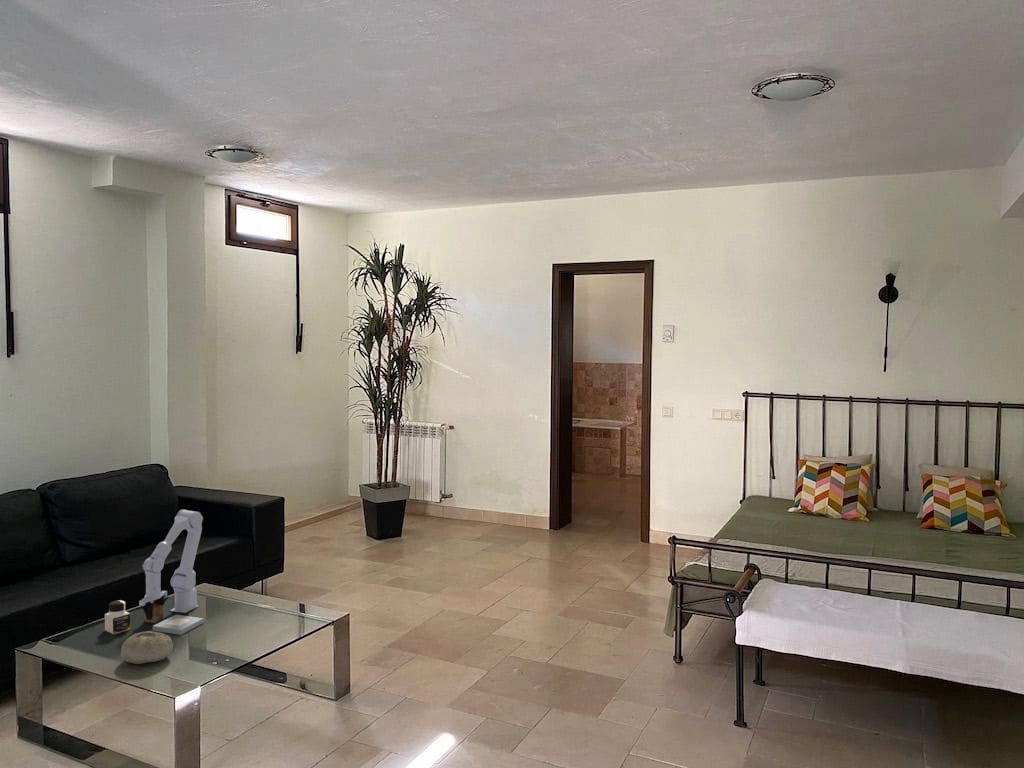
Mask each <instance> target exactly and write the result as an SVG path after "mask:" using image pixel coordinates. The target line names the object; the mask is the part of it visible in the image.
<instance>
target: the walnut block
mask: <svg viewBox="0 0 1024 768" xmlns="http://www.w3.org/2000/svg"><path fill="white" fill-rule="evenodd" d="M153 604H154V603H153ZM163 609H164V605H156V604H154V607H153V611H152V619H151V620H148V619H146V615H145V614H144V622H146V623H151V624H155V623H156V624H157V622H158V623H159V622H161V620H162V621H163V620H164V618H163V617H164V613H163V611H164V610H163Z"/></svg>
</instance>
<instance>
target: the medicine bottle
mask: <svg viewBox="0 0 1024 768" xmlns="http://www.w3.org/2000/svg"><path fill="white" fill-rule="evenodd" d="M130 630H131V613H130V612H128V611H126V601H124V600H121V599H120V600H119V599H118V600H114V601H111V602H110V603H108V612H107V613H104V631H105V632H107V633H110V634H112V635H117V634H121V633H122V632H126V631H130Z"/></svg>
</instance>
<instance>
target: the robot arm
mask: <svg viewBox="0 0 1024 768" xmlns="http://www.w3.org/2000/svg"><path fill="white" fill-rule="evenodd" d="M203 520H204V517H203V515H202V514H201V512H200V511H194V510H188V509H180V510H179V511H178V512H177V514H176V515H175V517H174V523H173V524H172V527H170V530H169V531H168V533H167V535H166V536H165V539H164V540H162V541H160V542H159V543H158V544H157V545H156V547H155V549H154V550H153V552H152V554H151V555H150V556H149V557H148V558H146V559H144V561H143V563H142V569H143V571H144V575H145V595H144V598H142V599H141V600H139V602H138V604H139V606H140V607H141V608H142V610H143V612H144V616H145V615H146V619H148V620H151V619H152V611H153V607H154V604H156V605H163V606H164V605H165V603H166V601H167V597H166V596H168V590H162V589H161V588H162V587H161V580H162V578H161V576H162V575H161V571H162V570H163V569H164V565H165V562H166V559H167V557H168V555H169V554H170V552H171V551H172V549H173V548H172V544H173V543H174V542H175V540H176V539H177V538H178V537H179V535H180V533H182V531H184V530H186V531H187V536H186V539H185V544H184V547H183V551H182V555H181V561H180V564H179V567H178V568H176V569H175V570H174V573H173V575H172V576H171V578H170V586H171V587H172V588H173V590H174V592H173V593H174V607H173V608H172V609H170V612H173V613H174V612H175V613H181V614H183V613H184V614H186V613H188V612H190V611H191V610H194V609H197V608H198V607H199V605H198V591H197V589H196V588H195V586H196V582H197V581H196V575H197V574H196V571H195V570H194V569H193V568H194V566H195V565H194V564H195V560H196V555H197V553H198V552H197V551H198V549H199V547H198V546H199V543H200V539H201V535H202V532H203V531H202V530H203V525H202V524H203ZM152 602H153V603H152Z"/></svg>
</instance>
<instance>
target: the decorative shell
mask: <svg viewBox="0 0 1024 768" xmlns="http://www.w3.org/2000/svg"><path fill="white" fill-rule="evenodd" d="M120 649H121V650H120V656H121V659H122V660H123V661H124V662H126V663H131V664H135V665H136V664H138V665H141V664H147V662H148V663H155V662H160V661H161V660H164V659H166V657H168V656H169V655H170V654H171V653H172V651H173V649H174V643H173V641H172V638H171V637H170V635H167V634H165V632H158V631H153V630H152V631H151V630H148V631H147V630H145V631H141V632H137V633H136V632H135V633H134V634H132V635H129V637H127V638H126V639H125V641H124V642H122V645H121V648H120Z"/></svg>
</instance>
